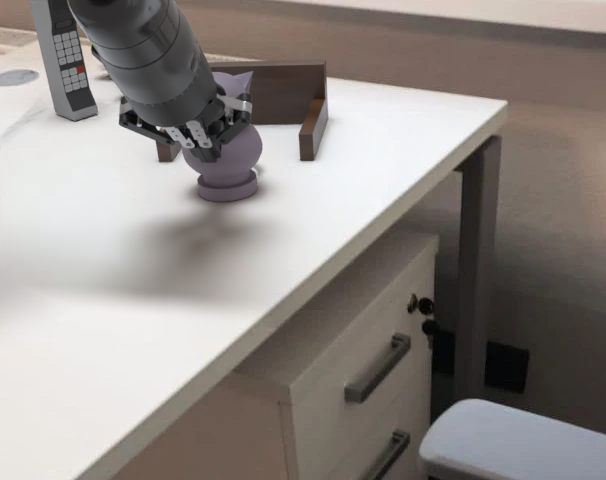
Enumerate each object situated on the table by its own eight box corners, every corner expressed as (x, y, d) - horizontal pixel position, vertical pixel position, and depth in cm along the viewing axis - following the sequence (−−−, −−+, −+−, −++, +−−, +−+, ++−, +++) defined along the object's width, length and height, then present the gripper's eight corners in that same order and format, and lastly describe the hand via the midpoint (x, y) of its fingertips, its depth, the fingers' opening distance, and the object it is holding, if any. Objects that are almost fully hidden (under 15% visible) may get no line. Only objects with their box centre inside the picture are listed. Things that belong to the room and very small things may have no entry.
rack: (314, 160, 100) (310, 96, 95) (158, 161, 102) (148, 99, 98) (328, 118, 110) (325, 59, 106) (187, 120, 113) (179, 62, 109)
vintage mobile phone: (74, 122, 115) (24, -103, 99) (55, 114, 118) (4, -105, 102) (99, 114, 117) (53, -108, 101) (79, 106, 120) (32, -110, 104)
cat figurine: (175, 202, 93) (157, 83, 85) (204, 173, 99) (189, 60, 91) (251, 207, 91) (239, 86, 83) (276, 177, 96) (266, 62, 89)
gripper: (237, 11, 71) (277, 116, 88) (81, 17, 73) (149, 119, 90) (231, 100, 70) (272, 189, 87) (73, 104, 72) (144, 190, 89)
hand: (210, 153), depth 88 cm, fingers closed
